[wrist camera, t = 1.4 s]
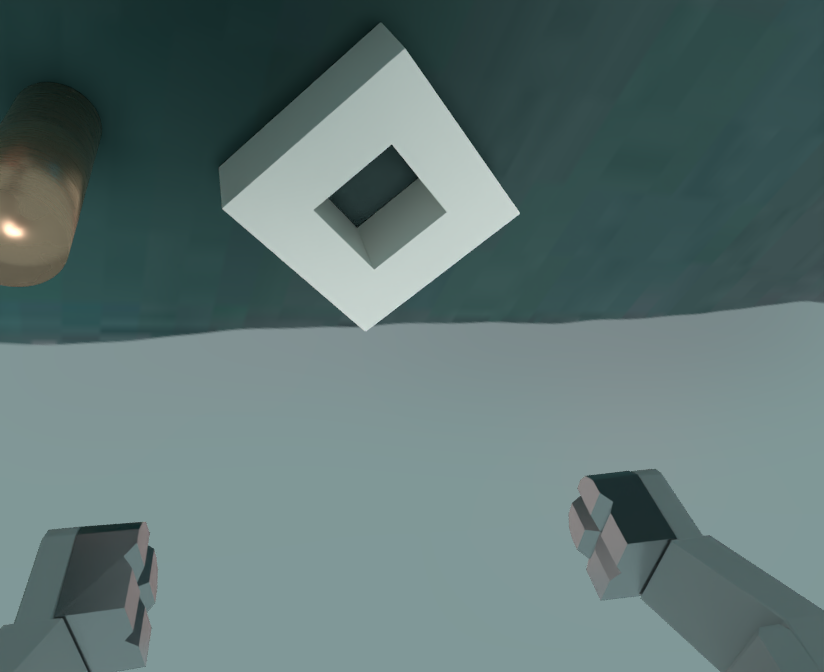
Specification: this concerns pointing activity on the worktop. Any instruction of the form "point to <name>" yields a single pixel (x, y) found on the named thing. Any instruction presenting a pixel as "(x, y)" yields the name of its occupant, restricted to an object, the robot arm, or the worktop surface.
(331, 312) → the worktop surface
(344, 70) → the fitting block
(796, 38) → the worktop surface
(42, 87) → the wooden peg
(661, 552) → the robot arm
